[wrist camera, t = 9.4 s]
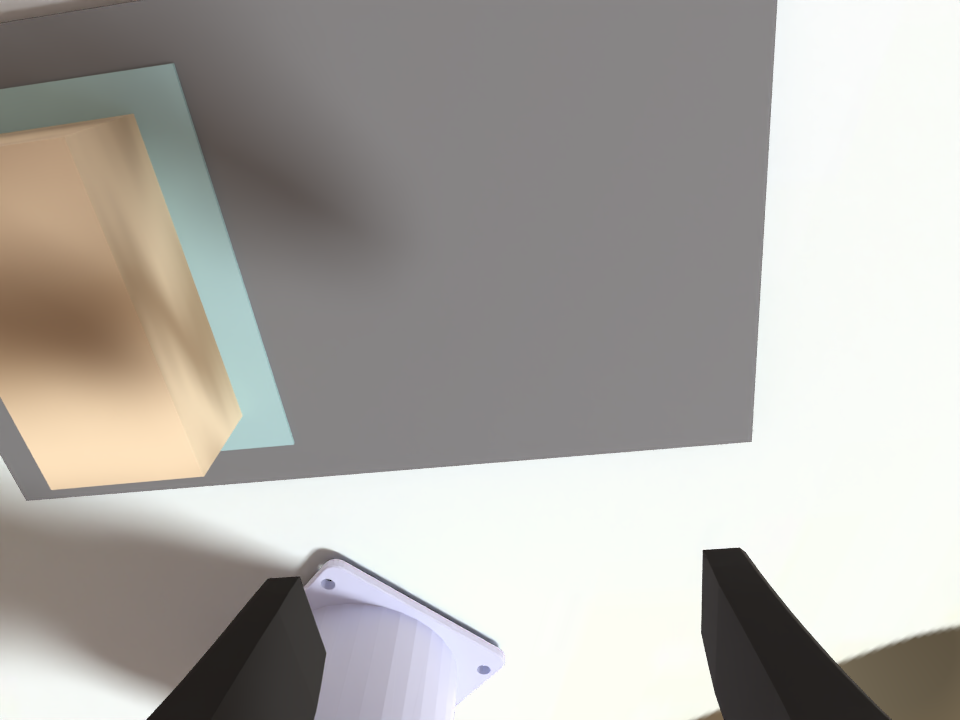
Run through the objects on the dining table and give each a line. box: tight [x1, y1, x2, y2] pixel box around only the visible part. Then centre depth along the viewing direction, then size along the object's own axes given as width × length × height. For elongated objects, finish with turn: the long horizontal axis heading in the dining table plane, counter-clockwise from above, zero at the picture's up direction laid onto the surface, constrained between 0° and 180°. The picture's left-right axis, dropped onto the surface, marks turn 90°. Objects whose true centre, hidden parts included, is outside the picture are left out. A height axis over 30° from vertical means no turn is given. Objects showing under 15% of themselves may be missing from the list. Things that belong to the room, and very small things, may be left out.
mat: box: [0, 0, 777, 501], centre depth 19 cm, size 24×14×1 cm, turn 98°
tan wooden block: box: [0, 114, 242, 490], centre depth 18 cm, size 9×4×3 cm, turn 8°
